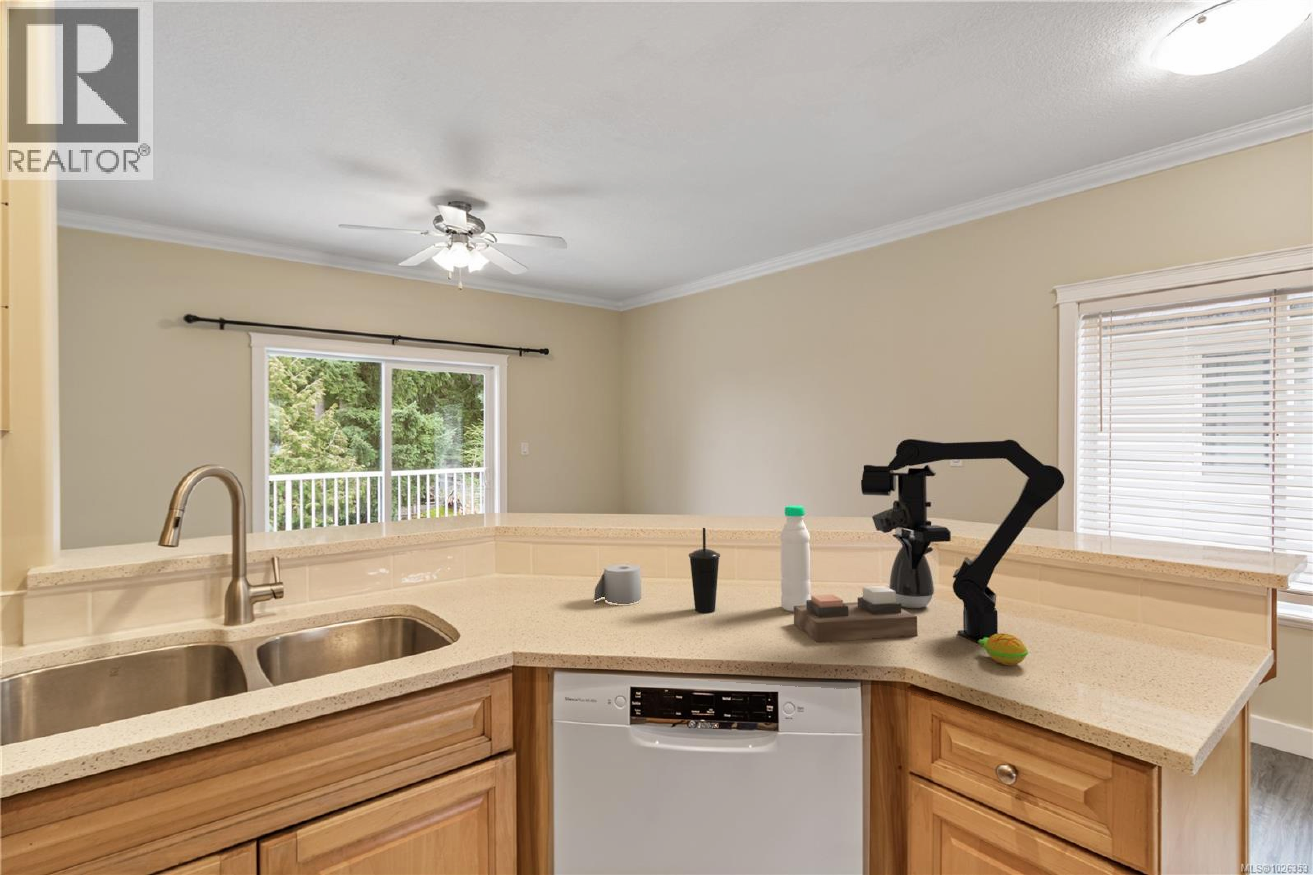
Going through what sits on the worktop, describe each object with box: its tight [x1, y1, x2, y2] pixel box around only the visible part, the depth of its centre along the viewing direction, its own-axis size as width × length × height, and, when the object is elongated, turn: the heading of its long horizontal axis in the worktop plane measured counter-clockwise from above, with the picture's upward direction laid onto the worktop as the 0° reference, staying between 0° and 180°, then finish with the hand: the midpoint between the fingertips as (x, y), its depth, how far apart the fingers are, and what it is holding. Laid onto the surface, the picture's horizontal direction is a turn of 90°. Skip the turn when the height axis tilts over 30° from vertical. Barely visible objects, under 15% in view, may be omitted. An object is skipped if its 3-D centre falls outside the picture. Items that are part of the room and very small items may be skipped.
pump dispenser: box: [888, 545, 935, 609], centre depth 154 cm, size 10×10×15 cm
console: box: [793, 596, 918, 643], centre depth 135 cm, size 13×22×6 cm, turn 99°
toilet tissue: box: [593, 563, 642, 604], centre depth 160 cm, size 9×13×9 cm
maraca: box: [977, 632, 1029, 666], centre depth 115 cm, size 7×10×5 cm
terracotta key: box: [810, 594, 844, 607], centre depth 134 cm, size 5×5×3 cm
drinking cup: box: [688, 527, 721, 614], centre depth 152 cm, size 8×8×20 cm
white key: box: [862, 585, 896, 604], centre depth 136 cm, size 5×5×3 cm
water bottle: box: [779, 505, 811, 613], centre depth 152 cm, size 7×7×25 cm
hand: (913, 568), depth 135 cm, fingers closed
